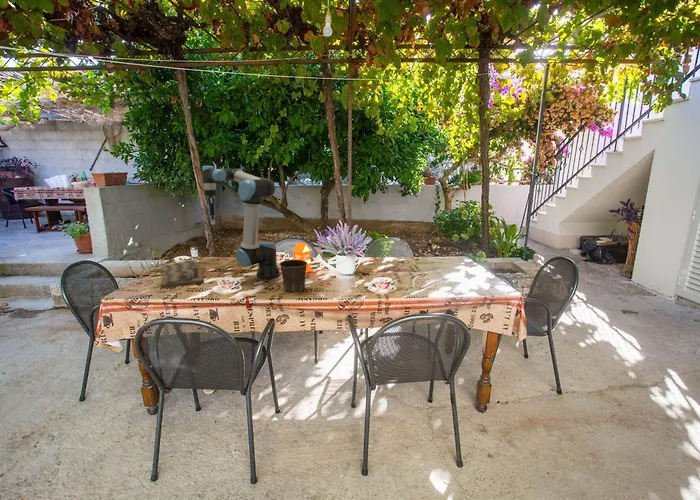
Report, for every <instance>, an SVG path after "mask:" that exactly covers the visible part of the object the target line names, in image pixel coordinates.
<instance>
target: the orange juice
mask: <svg viewBox="0 0 700 500" xmlns="http://www.w3.org/2000/svg"><path fill="white" fill-rule="evenodd" d="M292 251H293V254H292V255H293V260H303V261H306V262H307V266H306V273H308V272H311V271H312V270H311V269H312V267H311V263H312V262H311V250H310V248H309V246H308V245H307V243H303V242H296V245H295V247H294V250H292Z"/></svg>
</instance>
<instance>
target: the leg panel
mask: <svg viewBox="0 0 700 500" xmlns="http://www.w3.org/2000/svg"><path fill="white" fill-rule="evenodd" d="M163 269H164V273H165V279H166V282H167V283H169V282H173V281H178V280H182V279H183V276H182V275H183V274H186V273H192V277H195V274H194V265H193V259H188V260H182V261H177V262H172V263H166V264H163Z"/></svg>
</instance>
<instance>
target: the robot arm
mask: <svg viewBox="0 0 700 500" xmlns="http://www.w3.org/2000/svg"><path fill="white" fill-rule="evenodd" d="M201 169H202V171H201V175H202V182H203V183H202V184H203V190H204V196H205V197H207V196H208V198H207V203H208V206H209V209H208V210H209V217H210V225H211V226H212V225H216V219H215V218H216V216H215V215H216V213H215V197H213V196H217V189H216V188H217V187H216V186H217V184H216V182H223V181H225V182H226V181H234V182H237V183H239V184H238V185H239V186H238V189H237V193H238V197H239V199H240V200H241V202H242V204H244V211H243V229H242V230H243V232H242V242H241V243H240V244H239V245H240V246H239V248H238V249H236V251H235V258H236V261H237V262H238V264H239V265H240V266H241V267H244V268H245V267H251V266H254V265H255V266H256V265H257V264H258V267H257V272H256V278H257V279H260V280H274V279H278V278H279V277H280V276H281V272H280V271H281V270H280V269H279V267H278V262H277V246H276V243H275V242H272V241H258V240H259V239H258V236H259V223H260V222H259V220H260V207H261V205H262V204H263V200H265V199H269V198H271V197H273V196H274V195H275V192H276V184H275V183H274V181H273V180H272V179H269V178H266V177H262V178H261V177H258V176H255V175H252V174H250V173H247V172H244V171H243V170H242V168H215V167H214V166H213V165H203V166H202V167H201Z"/></svg>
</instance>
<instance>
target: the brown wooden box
mask: <svg viewBox="0 0 700 500" xmlns="http://www.w3.org/2000/svg"><path fill="white" fill-rule="evenodd" d="M192 260H193V265H194V274H195V277H192V273H186V274H183V275H182V276H183V279H182V280H178V281H173V282H169V283H167V282H166V279H165V272H162V277H161V281H160V289H168V288H176V287H184V286H192V285H193V286H194V285H200V284H205V281H204V275H203V274H204V273H203V268H198V260H197V257H195V258H194V257H193V258H192Z"/></svg>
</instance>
